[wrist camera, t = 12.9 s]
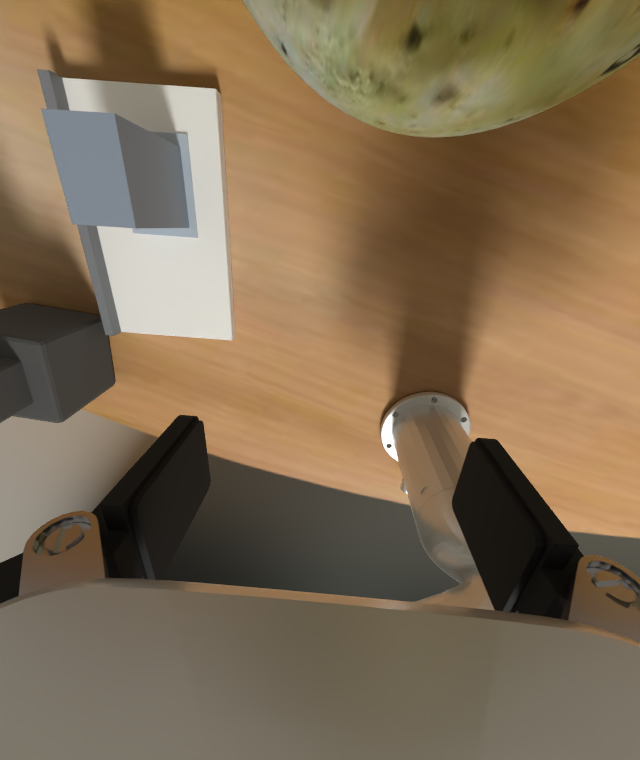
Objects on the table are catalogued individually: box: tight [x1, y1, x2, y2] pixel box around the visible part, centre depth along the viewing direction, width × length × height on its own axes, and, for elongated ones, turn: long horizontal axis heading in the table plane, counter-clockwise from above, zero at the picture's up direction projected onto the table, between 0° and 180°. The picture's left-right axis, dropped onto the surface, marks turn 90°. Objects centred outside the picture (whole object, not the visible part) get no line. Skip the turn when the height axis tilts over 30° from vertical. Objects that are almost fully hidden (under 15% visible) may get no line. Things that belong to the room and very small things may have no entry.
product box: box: [41, 109, 190, 228], centre depth 27 cm, size 5×7×10 cm
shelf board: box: [37, 69, 236, 340], centre depth 33 cm, size 24×15×3 cm, turn 176°
